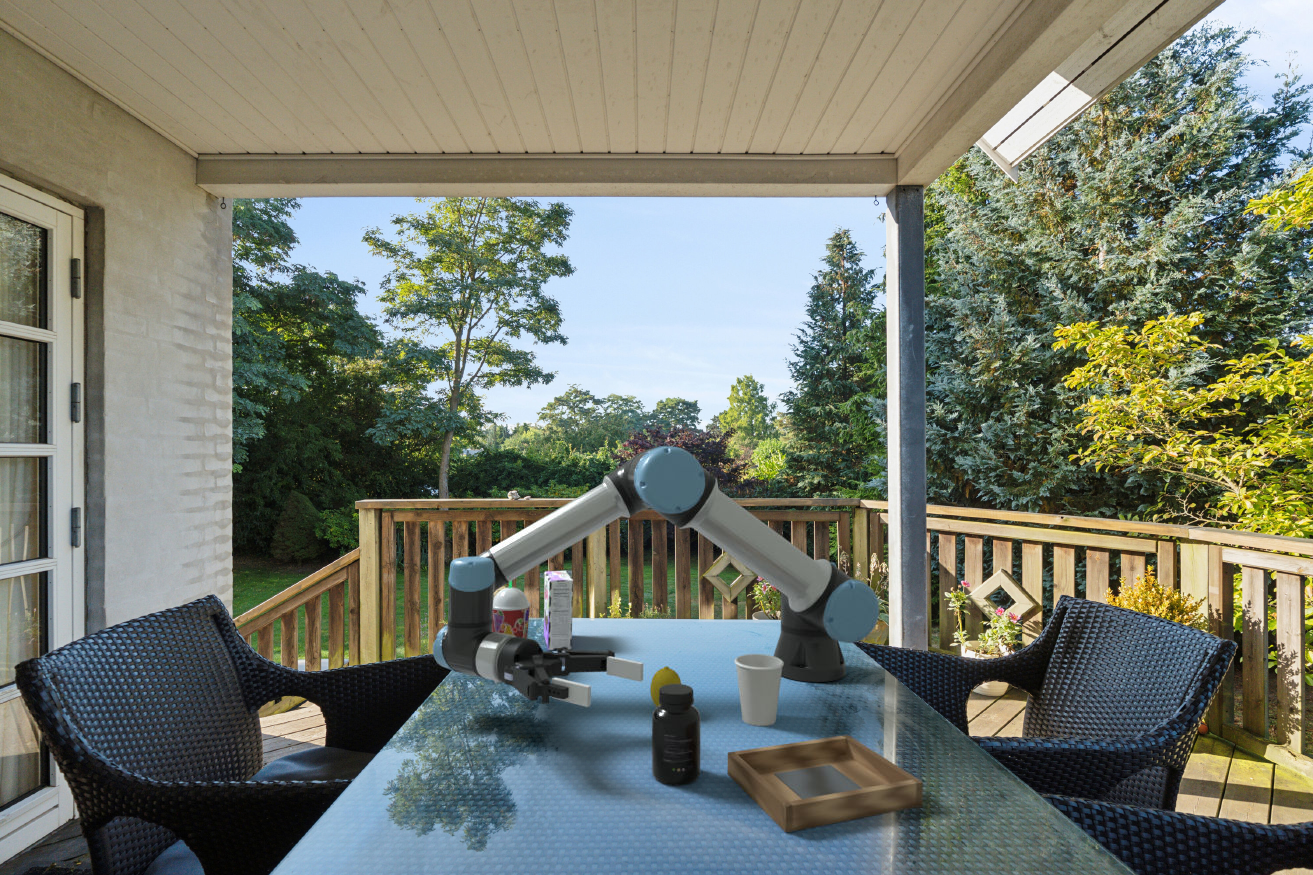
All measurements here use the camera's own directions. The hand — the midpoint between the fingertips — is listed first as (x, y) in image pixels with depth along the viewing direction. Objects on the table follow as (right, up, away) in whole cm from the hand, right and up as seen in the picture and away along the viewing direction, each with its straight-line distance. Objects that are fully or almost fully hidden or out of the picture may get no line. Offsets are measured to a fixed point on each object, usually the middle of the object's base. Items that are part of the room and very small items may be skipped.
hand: (617, 683), depth 100 cm
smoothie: (-25, -13, +42) cm, 51 cm away
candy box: (-18, -14, +65) cm, 69 cm away
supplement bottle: (+8, -11, -5) cm, 15 cm away
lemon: (+7, -12, +19) cm, 23 cm away
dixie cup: (+23, -12, +16) cm, 31 cm away
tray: (+28, -11, -9) cm, 31 cm away
